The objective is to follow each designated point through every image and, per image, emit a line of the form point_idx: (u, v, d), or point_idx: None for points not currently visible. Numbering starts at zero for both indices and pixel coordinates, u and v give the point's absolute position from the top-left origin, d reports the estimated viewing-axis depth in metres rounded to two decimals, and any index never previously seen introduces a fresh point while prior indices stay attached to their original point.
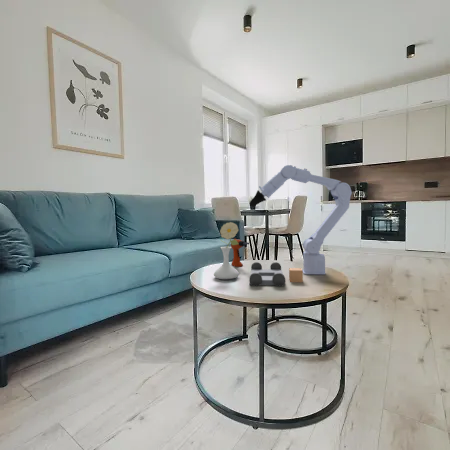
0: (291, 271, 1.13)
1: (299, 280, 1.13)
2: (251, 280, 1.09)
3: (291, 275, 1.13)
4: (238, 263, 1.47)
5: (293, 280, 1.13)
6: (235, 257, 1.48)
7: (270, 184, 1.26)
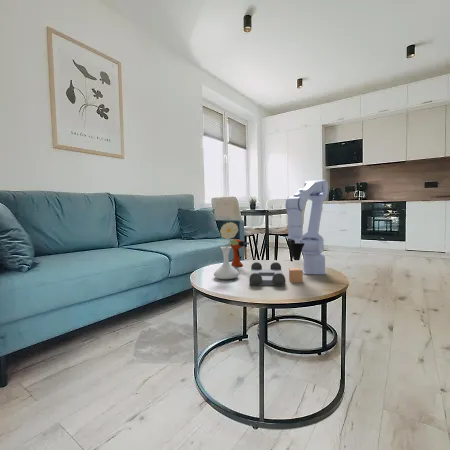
0: (291, 271, 1.13)
1: (299, 280, 1.13)
2: (251, 280, 1.09)
3: (291, 275, 1.13)
4: (238, 263, 1.47)
5: (293, 280, 1.13)
6: (235, 257, 1.48)
7: (293, 227, 1.12)
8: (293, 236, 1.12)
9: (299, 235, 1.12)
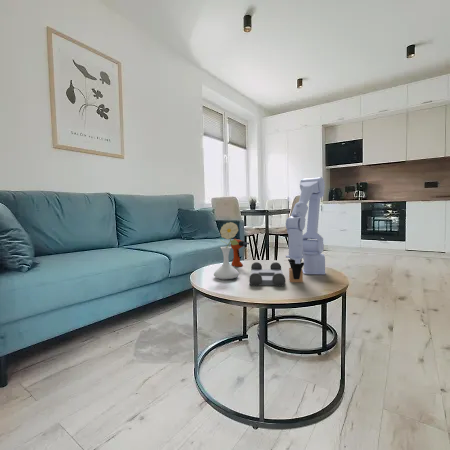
0: (291, 271, 1.13)
1: (299, 280, 1.13)
2: (251, 280, 1.09)
3: (291, 275, 1.13)
4: (238, 263, 1.47)
5: (293, 280, 1.13)
6: (235, 257, 1.48)
7: (293, 247, 1.12)
8: (293, 256, 1.12)
9: (299, 255, 1.12)
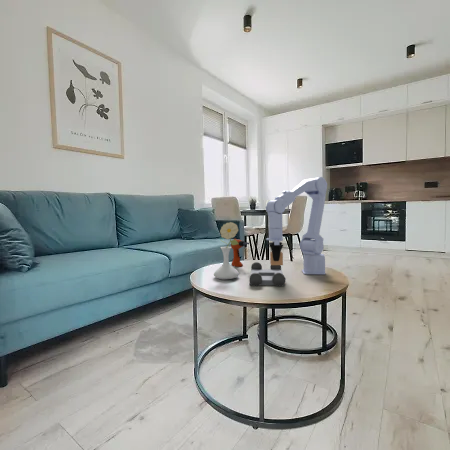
0: (271, 254, 1.16)
1: (279, 263, 1.16)
2: (251, 280, 1.09)
3: (271, 258, 1.16)
4: (238, 263, 1.47)
5: (273, 263, 1.16)
6: (235, 257, 1.48)
7: (273, 229, 1.15)
8: (273, 238, 1.15)
9: (279, 237, 1.15)
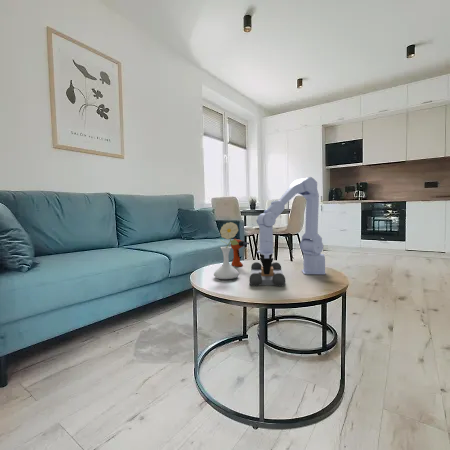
0: (262, 269, 1.18)
1: None
2: (251, 280, 1.09)
3: (262, 273, 1.18)
4: (238, 263, 1.47)
5: None
6: (235, 257, 1.48)
7: (263, 243, 1.17)
8: (263, 251, 1.17)
9: (269, 250, 1.17)
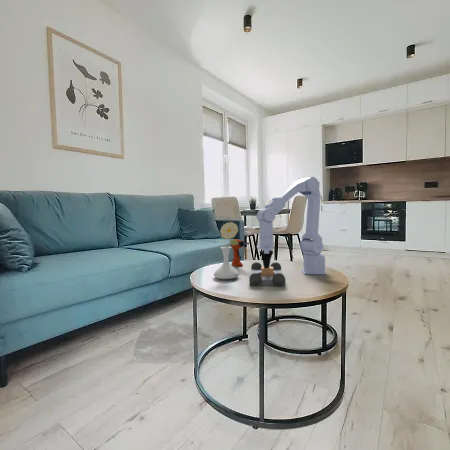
0: (262, 269, 1.18)
1: None
2: (251, 280, 1.09)
3: (262, 273, 1.18)
4: (238, 263, 1.47)
5: None
6: (235, 257, 1.48)
7: (263, 238, 1.17)
8: (263, 246, 1.17)
9: (269, 245, 1.17)
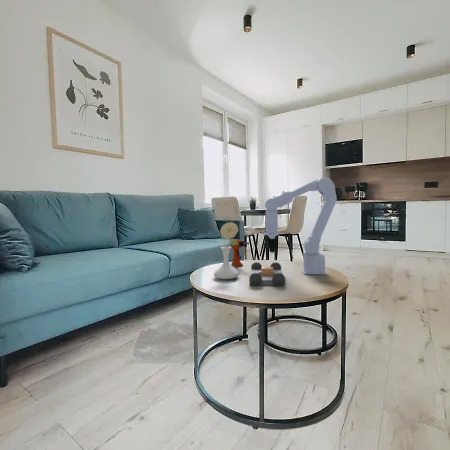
0: (262, 269, 1.18)
1: None
2: (251, 280, 1.09)
3: (262, 273, 1.18)
4: (238, 263, 1.47)
5: None
6: (235, 257, 1.48)
7: (269, 225, 1.30)
8: (269, 233, 1.30)
9: (274, 232, 1.30)
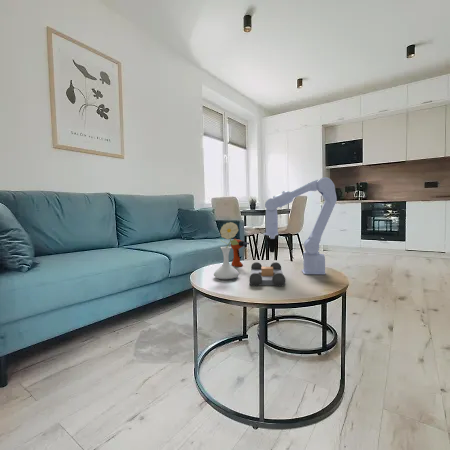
0: (262, 269, 1.18)
1: None
2: (251, 280, 1.09)
3: (262, 273, 1.18)
4: (238, 263, 1.47)
5: None
6: (235, 257, 1.48)
7: (269, 225, 1.30)
8: (269, 233, 1.30)
9: (274, 232, 1.30)
